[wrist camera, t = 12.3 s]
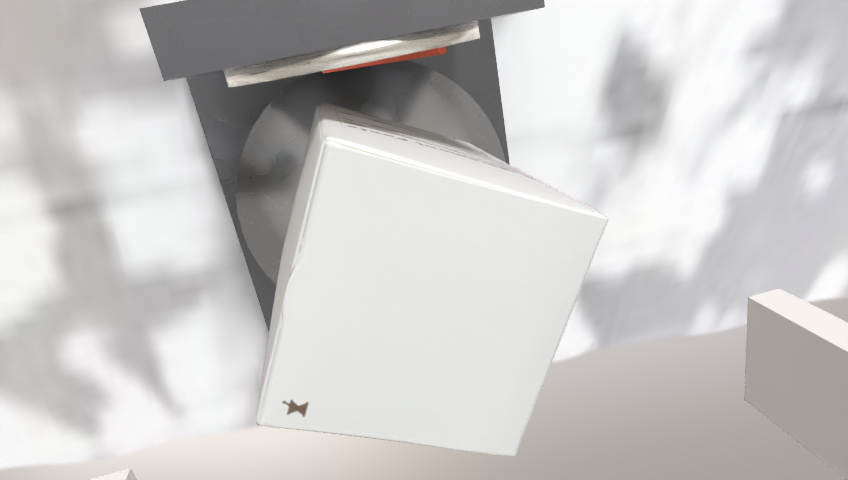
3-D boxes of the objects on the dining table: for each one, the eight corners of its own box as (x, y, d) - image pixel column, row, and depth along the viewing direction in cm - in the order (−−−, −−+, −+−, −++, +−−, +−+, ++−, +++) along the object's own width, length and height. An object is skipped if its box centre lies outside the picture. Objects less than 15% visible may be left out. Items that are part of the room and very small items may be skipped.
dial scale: (278, 327, 35) (253, 504, 21) (187, 39, 29) (65, 21, 15) (509, 269, 37) (625, 397, 23) (470, -14, 31) (597, -73, 17)
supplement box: (430, 290, 32) (518, 469, 18) (278, 258, 30) (244, 436, 16) (478, 142, 30) (622, 217, 16) (318, 95, 27) (319, 133, 13)
